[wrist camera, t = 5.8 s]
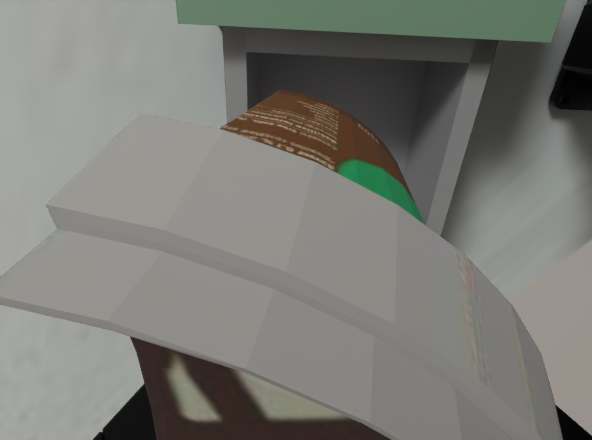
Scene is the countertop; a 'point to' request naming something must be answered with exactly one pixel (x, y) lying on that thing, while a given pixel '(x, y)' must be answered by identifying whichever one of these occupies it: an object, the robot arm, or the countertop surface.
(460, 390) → the food container
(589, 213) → the countertop surface
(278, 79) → the green block on stand
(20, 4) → the countertop surface
